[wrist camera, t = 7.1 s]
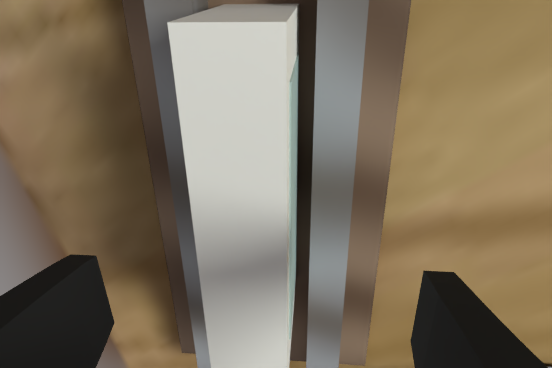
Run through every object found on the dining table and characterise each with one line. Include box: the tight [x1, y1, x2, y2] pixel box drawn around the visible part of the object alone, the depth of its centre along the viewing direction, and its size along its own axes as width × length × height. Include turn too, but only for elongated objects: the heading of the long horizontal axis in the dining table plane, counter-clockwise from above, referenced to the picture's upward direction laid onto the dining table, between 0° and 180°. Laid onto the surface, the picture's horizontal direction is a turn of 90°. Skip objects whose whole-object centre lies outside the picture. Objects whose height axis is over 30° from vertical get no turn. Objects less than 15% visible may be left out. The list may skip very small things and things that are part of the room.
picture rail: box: [122, 0, 411, 368], centre depth 17 cm, size 22×10×3 cm, turn 1°
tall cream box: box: [167, 4, 299, 368], centre depth 14 cm, size 12×3×6 cm, turn 1°
